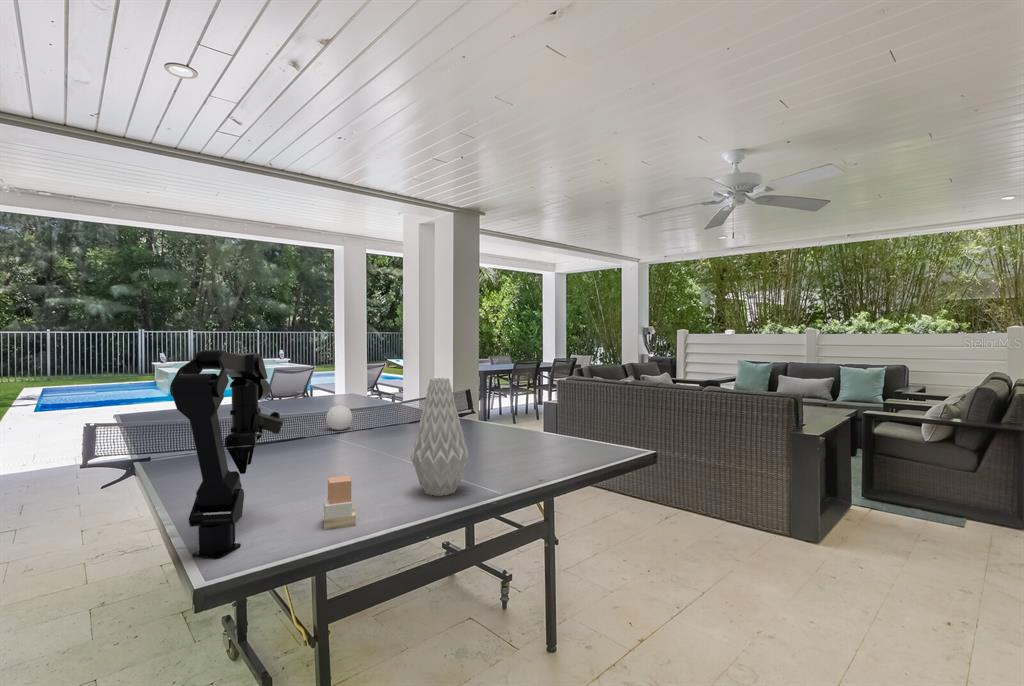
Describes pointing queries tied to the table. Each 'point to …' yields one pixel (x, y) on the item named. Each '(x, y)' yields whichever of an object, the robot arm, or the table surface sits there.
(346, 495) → the terracotta cube
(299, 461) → the table surface
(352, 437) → the table surface
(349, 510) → the tower top block
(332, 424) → the decorative ball
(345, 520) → the tower base block
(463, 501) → the table surface
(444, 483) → the vase
